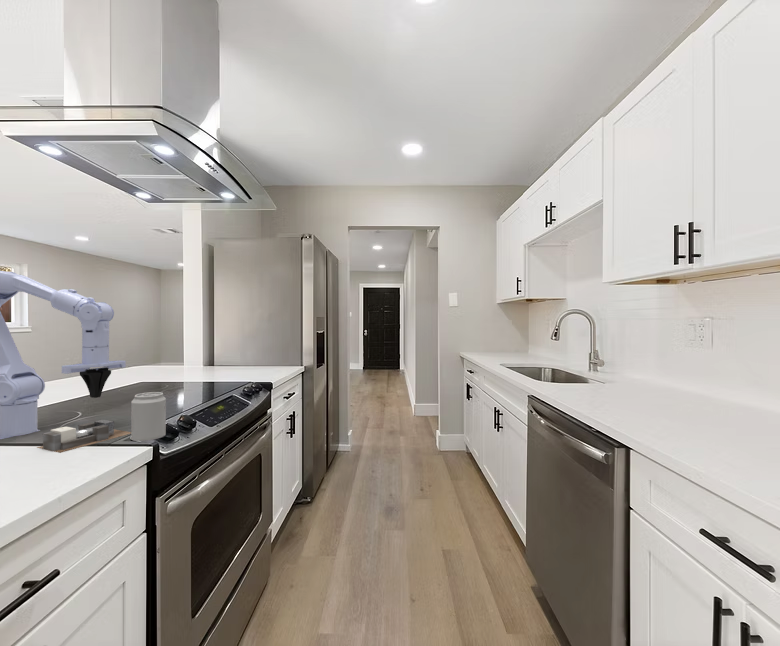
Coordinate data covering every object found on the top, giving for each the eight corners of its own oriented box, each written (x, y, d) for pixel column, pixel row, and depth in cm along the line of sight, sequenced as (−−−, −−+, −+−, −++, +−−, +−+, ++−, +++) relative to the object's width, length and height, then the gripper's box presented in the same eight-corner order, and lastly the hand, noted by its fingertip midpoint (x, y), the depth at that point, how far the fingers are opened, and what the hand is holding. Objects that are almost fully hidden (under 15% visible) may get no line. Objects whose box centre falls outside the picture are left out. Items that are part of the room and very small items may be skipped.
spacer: (50, 446, 87) (50, 429, 87) (65, 443, 90) (65, 426, 90) (60, 449, 85) (61, 431, 85) (75, 445, 88) (76, 428, 88)
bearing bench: (36, 451, 86) (36, 432, 86) (111, 432, 102) (111, 415, 102) (60, 457, 83) (60, 437, 83) (133, 436, 98) (133, 419, 98)
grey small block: (65, 442, 90) (65, 427, 90) (102, 432, 97) (102, 419, 97) (76, 444, 88) (76, 430, 88) (113, 434, 96) (113, 421, 96)
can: (148, 446, 91) (149, 397, 91) (123, 443, 93) (123, 395, 92) (172, 436, 98) (172, 391, 98) (148, 434, 100) (148, 390, 100)
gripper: (73, 349, 92) (73, 403, 92) (133, 345, 105) (132, 393, 105) (56, 348, 94) (56, 401, 94) (116, 344, 108) (116, 391, 108)
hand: (95, 397), depth 100 cm, fingers closed
